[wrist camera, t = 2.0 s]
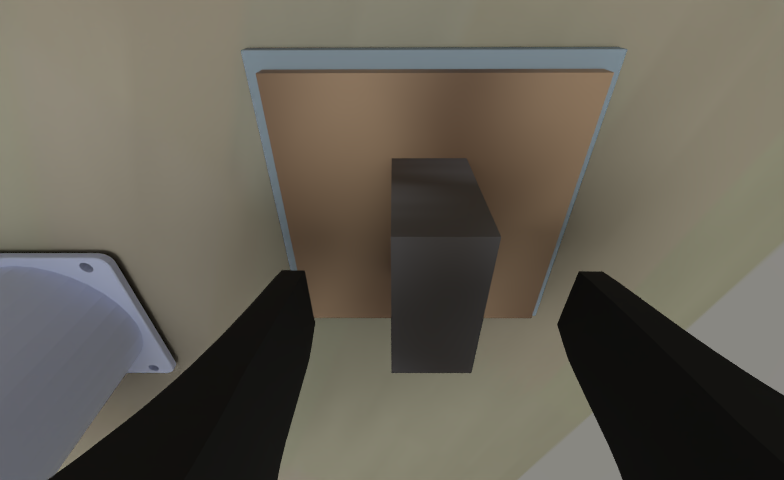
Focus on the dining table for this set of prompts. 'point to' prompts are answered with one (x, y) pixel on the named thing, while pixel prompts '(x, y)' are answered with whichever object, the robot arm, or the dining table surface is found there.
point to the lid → (428, 193)
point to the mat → (424, 60)
